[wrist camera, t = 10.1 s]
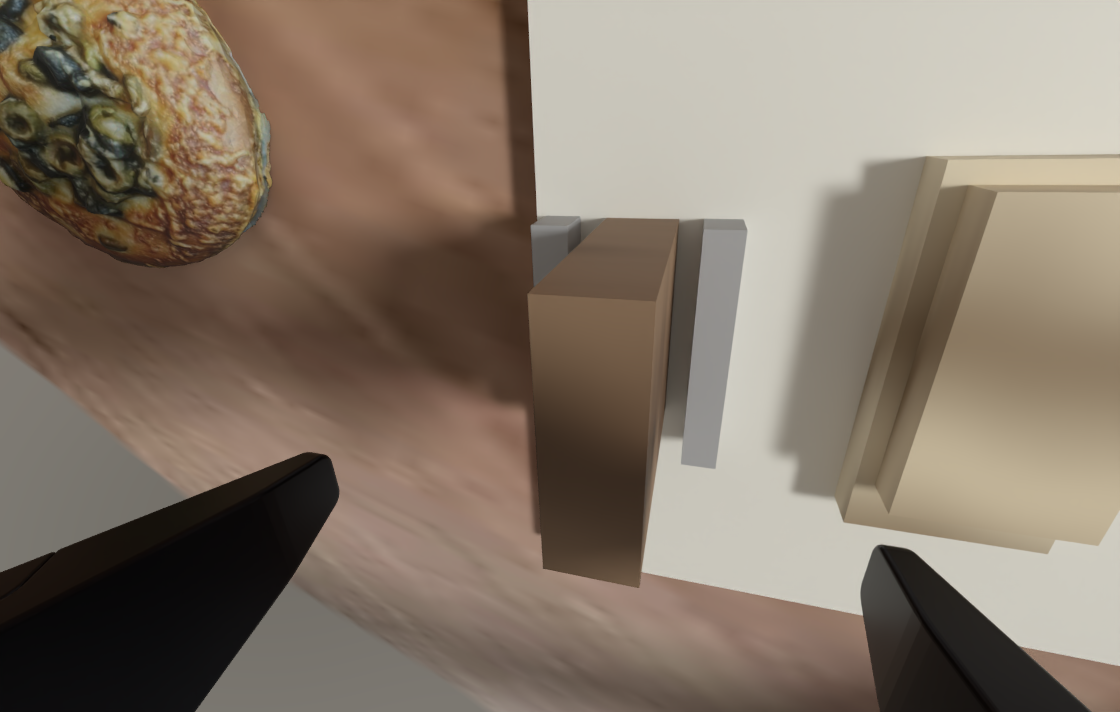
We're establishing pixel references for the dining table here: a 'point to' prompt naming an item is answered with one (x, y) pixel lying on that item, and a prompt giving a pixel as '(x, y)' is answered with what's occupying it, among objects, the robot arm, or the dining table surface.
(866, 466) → the offcut stack
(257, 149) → the bread roll
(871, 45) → the rack
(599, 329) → the walnut panel
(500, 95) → the dining table surface
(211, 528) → the robot arm
